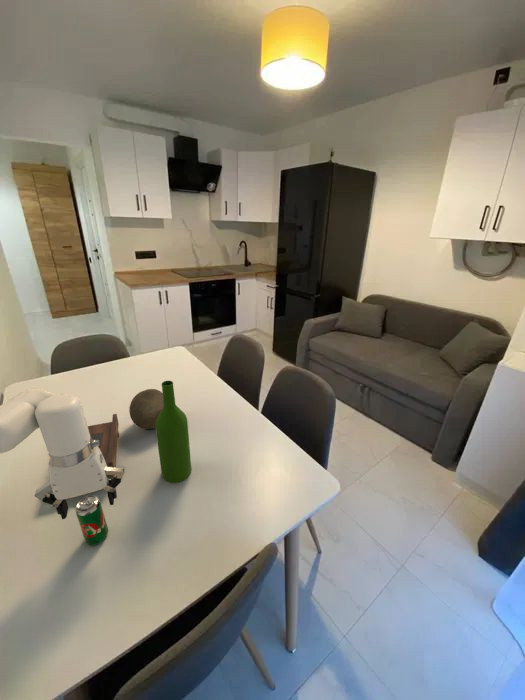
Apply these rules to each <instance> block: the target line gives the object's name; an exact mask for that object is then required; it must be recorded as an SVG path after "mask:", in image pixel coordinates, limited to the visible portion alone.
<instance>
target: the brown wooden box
mask: <svg viewBox="0 0 525 700" xmlns="http://www.w3.org/2000/svg"><path fill="white" fill-rule="evenodd" d="M111 419H112V420H111V421H109V422H103V423H98V424H91V425H87V426H88V430H89V433H90V436H91V437H92V439H93V440H100V446H98V448H99V449H100V451H101V453H102V455H103V457H104V459H105V462H106V465H107V467H116V465H117V454H118V453H117V451H118V438H119V437H120V431H119V425H120V424H119V418H118V414H117V413H113V414H112V418H111ZM116 468H117V467H116ZM106 476H108V477H110V478H112V479H114V477H115V475H106ZM107 484H108V483H107Z"/></svg>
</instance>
